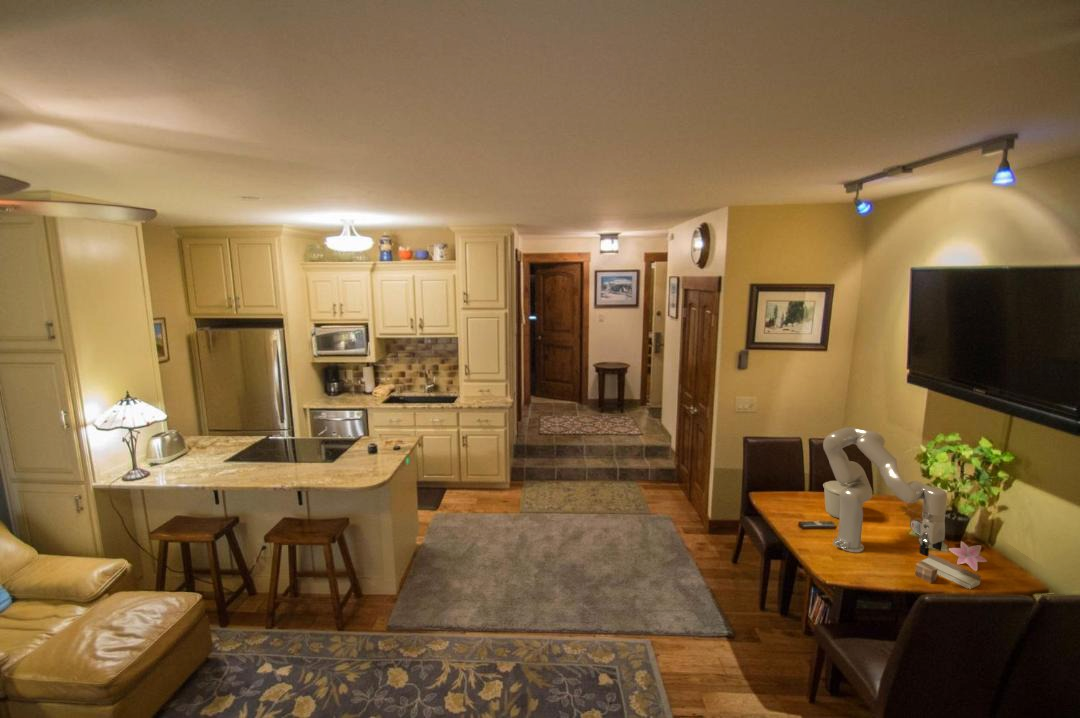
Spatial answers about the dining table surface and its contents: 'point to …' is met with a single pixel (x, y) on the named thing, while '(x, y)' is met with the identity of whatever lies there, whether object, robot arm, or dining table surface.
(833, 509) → the canister
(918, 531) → the tin
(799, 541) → the dining table surface
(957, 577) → the bar
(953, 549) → the lily
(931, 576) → the crate
